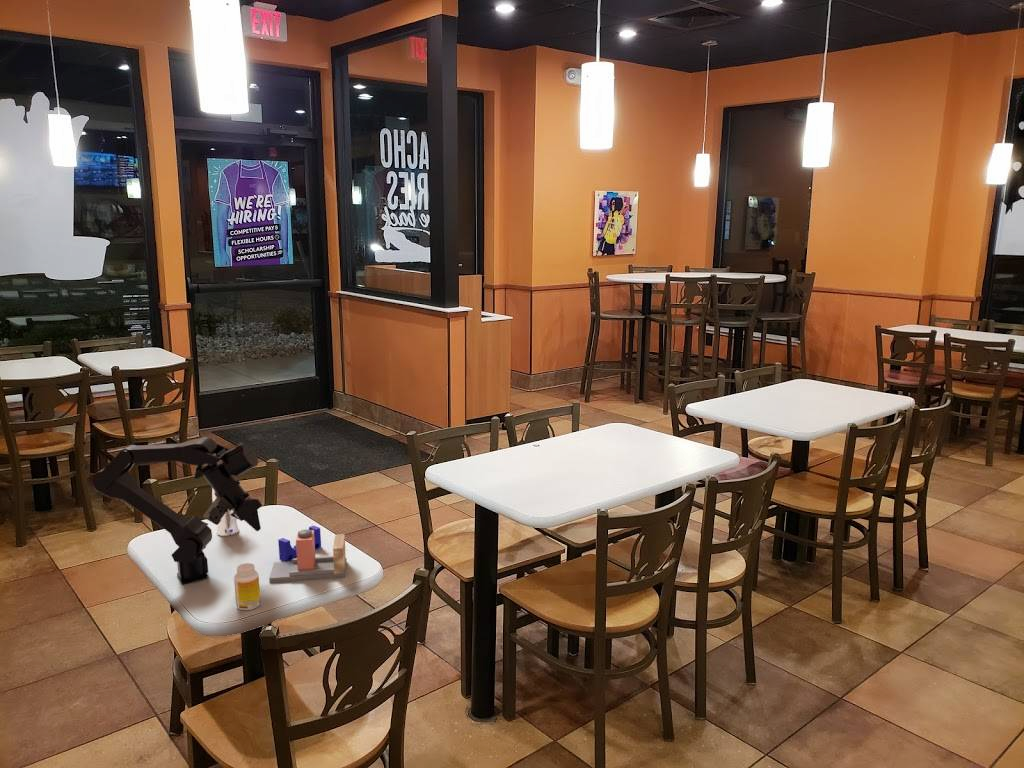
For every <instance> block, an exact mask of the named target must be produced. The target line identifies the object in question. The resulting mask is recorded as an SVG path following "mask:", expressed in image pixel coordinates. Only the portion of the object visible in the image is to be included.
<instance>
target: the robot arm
mask: <svg viewBox="0 0 1024 768" xmlns="http://www.w3.org/2000/svg"><path fill="white" fill-rule="evenodd" d="M163 462H164V463H165V462H166V463H168V462H169V463H170V462H179V463H181V464H184V465H188V466H196V468H195V473H194V475H193V477H194V478H193V479H194V480H198V479H199V478H201V477H204V479H205V481H206V482H207V483H208V484H209V485H210V486H211V489H212V488H213V489H214V491H215V496H216V497H217V498H216V499H215V501H214V502H213V501H212V502H211V504H210V505H209V507H208V509H207V510H206V511H205V513H204V514H203V518H204V519H205V520H207V521H209V522H211V523H212V524H214V525H216V526H218V524H219V523H220V521H221V519H222V517H223V516H224V514H225V513H226V512H228V510H229V511H232V512H233V513H232V514H231V516H233V517H235V518H236V520H239V521H240V522H242V521H244V522H245V523H246V524H247V525H249V526H250V527H251V528H252V529H254V530H255V531H256V532H259V531H260V530H261V529H262V528H261V522H260V518H259V512H258V510H260V508H262V506H263V504H262V502H261V501H260V500H259V499H258V498H256V497H250V494H249V493H248V492H247V491H246V490H245V489H244V488H243V486H242V485H241V482H240V481H239V479H237V478H236V477H238V476H240V475H243V474H244V473H247V472H248V471H250V470H251V469H253V468H255V467H257V466H259V459H258V456H257V453H256V452H255V451H254V450H253V449H252V448H250V447H249V446H247V445H246V444H245V442H241V443H239V444H237V446H235V447H234V448H228V447H226V446H225V445H224V446H223V445H221V444H219V443H217V442H216V441H215V440H213V438H212V437H209V436H203V437H198V438H194V439H191V440H188V441H184V442H180V443H166V444H165V443H164V444H162V443H161V444H144V445H136V444H130V445H127V446H125V447H124V448H122V449H121V450H120V451H118V454H116V456H115V457H114V458H113V460H111V462H109V463H108V464H107V465H106V467H103V468H102V469H100V471H97V472H96V473H94V475H93V477H92V481H91V482H92V487H93V489H95V491H96V492H98V493H100V494H102V495H103V496H106V497H108V498H111V499H116V500H120V501H121V500H122V501H124V502H125V503H127V504H128V505H129V506H131V507H132V508H134V509H135V510H136V511H138V512H140V513H141V514H142V515H144V516H145V517H146V518H148V519H149V520H150V521H152V522H154V523H155V524H157V525H158V526H159V527H160V528H162V529H164V530H165V531H167V532H168V533H169V534H170V536H171V537H172V539H173V542H174V543H175V545H176V546H178V547H177V549H176V550H175V551H174V552H172V553H171V558H172V559H173V561H174V562H175V563H176V564H177V573H176V576H177V578H178V580H179V581H180V583H181V585H185V584H186V585H187V584H189V583H194V582H198V581H201V580H205V579H208V578H209V574H208V573H209V564H208V558H207V556H206V554H205V552H204V551H203V550H205V549H206V548H207V546H208V544H209V543H210V542H211V541H212V539H213V531H212V529H211V528H210V527H209V526H208V525H209V523H207V522H205V521H202V519H201V518H200V517H198V516H196V515H194V516H192V517H191V518H188V517H187V518H186V517H183V516H182V515H180V514H179V513H177V512H176V511H175V510H173V509H172V508H170V507H169V506H168V505H166V504H165V503H163V502H162V501H160V500H159V499H158V498H157V497H155V496H154V495H152V494H151V493H149V492H147V490H145V489H144V488H142V487H141V486H140V485H138V484H137V482H136V480H135V478H134V476H133V474H132V473H131V472H130V470H131V469H132V468H133V466H135V464H141V463H142V464H143V463H163ZM227 509H228V510H227Z"/></svg>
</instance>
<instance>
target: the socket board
mask: <svg viewBox="0 0 1024 768" xmlns="http://www.w3.org/2000/svg"><path fill="white" fill-rule="evenodd" d="M315 557H316V562H315V567H314V570H300V571H298V566H297V558H294V559H293V560H291V561H288V562H285V561H279V562H273V564H272V569H271V571H270V574H269V579H268V580H269V583H281V582H283V583H284V582H294V581H295V582H296V581H310V580H323V579H322V578H328V579H334V578H333V577H343V578H346V572H347V571H346V570H347V564H348V563H347V560H348V559H347V558H346V560H345V568H344V573H339V574H334V561H333V555H329V556H328V555H327V556H315ZM330 577H331V578H330Z"/></svg>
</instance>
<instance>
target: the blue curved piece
mask: <svg viewBox="0 0 1024 768" xmlns="http://www.w3.org/2000/svg"><path fill="white" fill-rule="evenodd" d="M308 530H314V539H315V551H316V550H318V549H320V548H322V540H321V539H322V536H321V527H319V526H316V525H311V526H309V527H308ZM277 541H278V542H277V543H278V554H279V556H278V557H279V560H280V561H281V562H291V561H293V559H294V558H297V550H296V544H295V545H293V546H292V545H291V544H292V543H291V541H290V539H287V538H284V537H282V538H279V539H278V540H277Z"/></svg>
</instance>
